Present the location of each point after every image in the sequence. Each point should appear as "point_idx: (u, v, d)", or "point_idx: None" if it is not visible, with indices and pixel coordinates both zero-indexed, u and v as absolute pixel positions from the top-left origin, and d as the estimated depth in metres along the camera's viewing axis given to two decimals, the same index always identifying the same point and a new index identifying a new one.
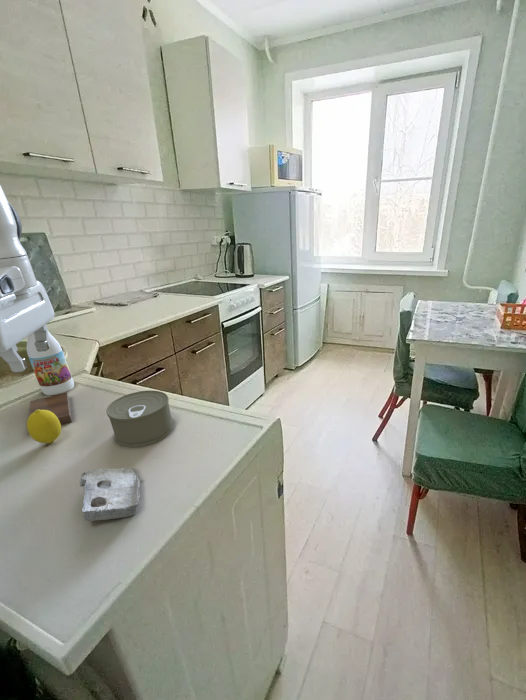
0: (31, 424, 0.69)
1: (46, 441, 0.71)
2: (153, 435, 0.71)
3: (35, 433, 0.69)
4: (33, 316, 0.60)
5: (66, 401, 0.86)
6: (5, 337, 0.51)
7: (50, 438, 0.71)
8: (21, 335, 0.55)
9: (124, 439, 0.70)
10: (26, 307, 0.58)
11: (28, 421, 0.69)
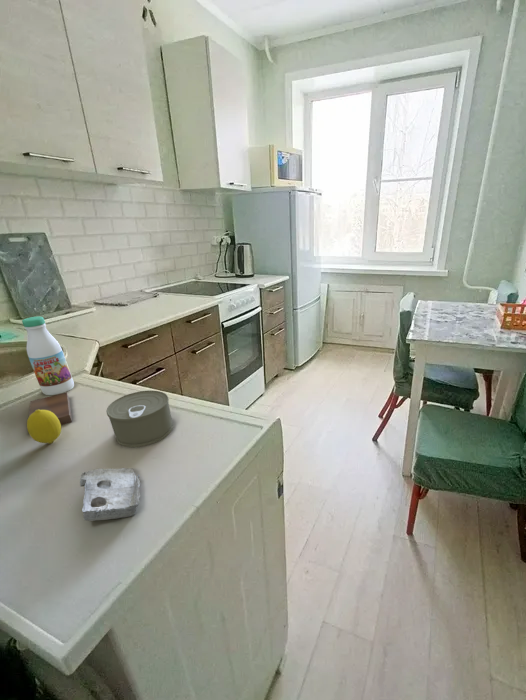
0: (31, 424, 0.69)
1: (46, 441, 0.71)
2: (153, 435, 0.71)
3: (35, 433, 0.69)
4: None
5: (66, 401, 0.86)
6: None
7: (50, 438, 0.71)
8: None
9: (124, 439, 0.70)
10: None
11: (28, 421, 0.69)
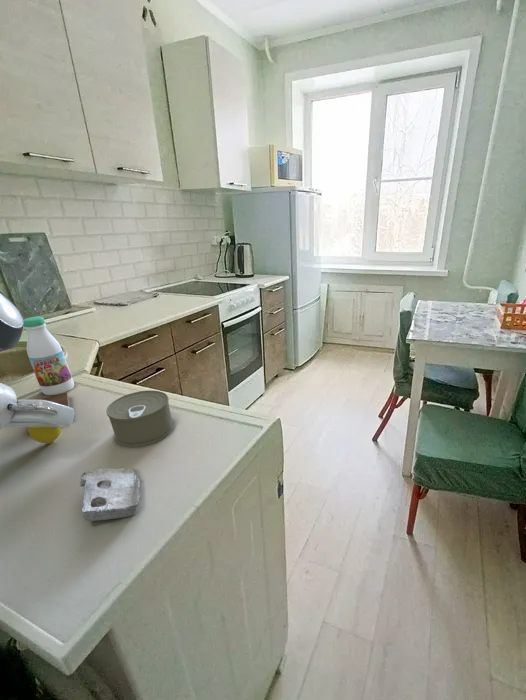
0: None
1: (46, 441, 0.71)
2: (153, 435, 0.71)
3: (35, 433, 0.69)
4: (22, 425, 0.65)
5: (66, 401, 0.86)
6: None
7: (50, 438, 0.71)
8: None
9: (124, 439, 0.70)
10: (12, 421, 0.63)
11: None
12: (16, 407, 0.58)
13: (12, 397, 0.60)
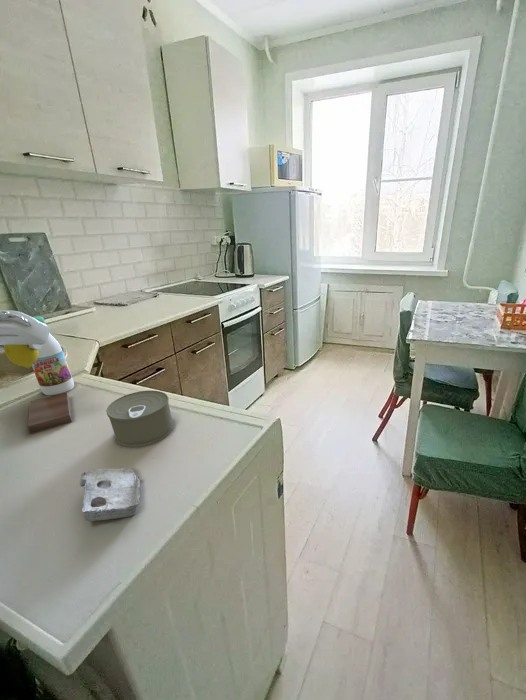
0: None
1: (23, 363, 0.73)
2: (153, 435, 0.71)
3: (12, 353, 0.71)
4: None
5: (66, 401, 0.86)
6: None
7: (27, 360, 0.72)
8: None
9: (124, 439, 0.70)
10: None
11: None
12: None
13: None
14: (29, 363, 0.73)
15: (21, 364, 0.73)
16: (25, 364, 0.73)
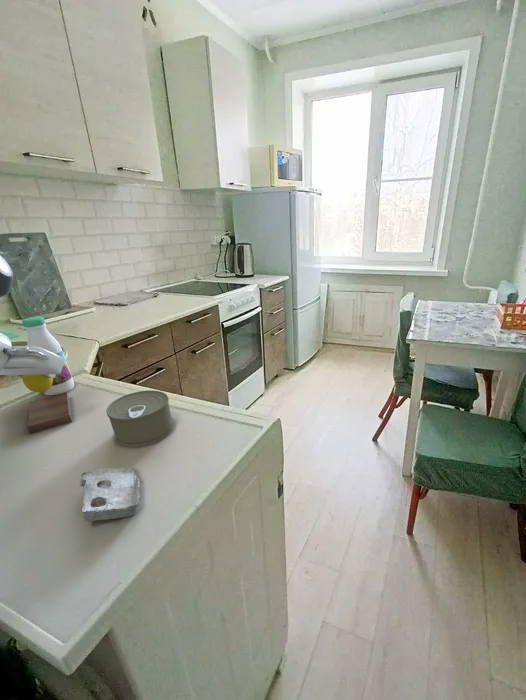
0: None
1: (39, 390, 0.79)
2: (153, 435, 0.71)
3: (29, 381, 0.77)
4: (16, 371, 0.73)
5: (66, 401, 0.86)
6: None
7: (42, 387, 0.79)
8: None
9: (124, 439, 0.70)
10: (8, 367, 0.71)
11: None
12: (11, 350, 0.67)
13: (7, 343, 0.68)
14: (44, 389, 0.80)
15: (37, 391, 0.79)
16: (41, 391, 0.80)
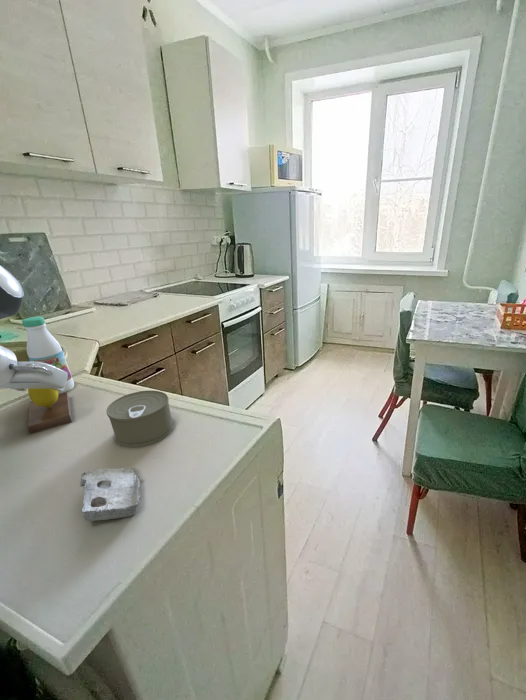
0: (32, 389, 0.79)
1: (45, 405, 0.81)
2: (153, 435, 0.71)
3: (35, 397, 0.79)
4: (21, 385, 0.74)
5: (66, 401, 0.86)
6: None
7: (48, 402, 0.81)
8: None
9: (124, 439, 0.70)
10: (13, 381, 0.73)
11: None
12: (17, 366, 0.68)
13: (13, 359, 0.69)
14: (50, 404, 0.82)
15: (43, 405, 0.81)
16: (47, 405, 0.81)
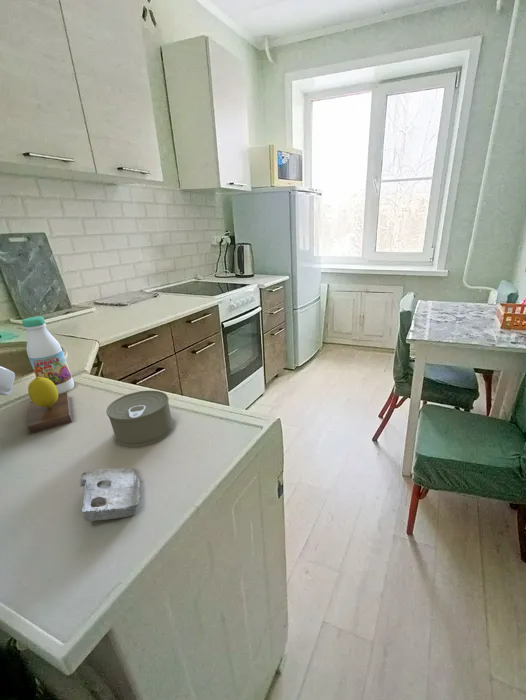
0: (32, 389, 0.79)
1: (45, 405, 0.81)
2: (153, 435, 0.71)
3: (35, 397, 0.79)
4: None
5: (66, 401, 0.86)
6: None
7: (48, 402, 0.81)
8: None
9: (124, 439, 0.70)
10: None
11: (29, 386, 0.79)
12: None
13: None
14: (50, 404, 0.82)
15: (43, 405, 0.81)
16: (47, 405, 0.81)
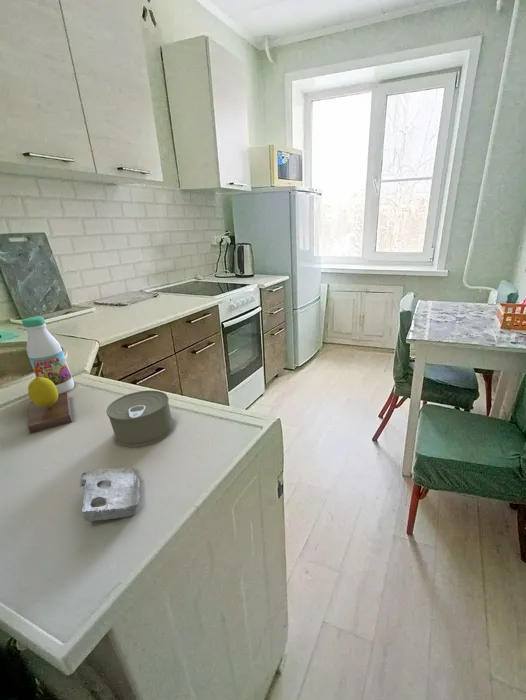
0: (32, 389, 0.79)
1: (45, 405, 0.81)
2: (153, 435, 0.71)
3: (35, 397, 0.79)
4: None
5: (66, 401, 0.86)
6: None
7: (48, 402, 0.81)
8: None
9: (124, 439, 0.70)
10: None
11: (29, 386, 0.79)
12: None
13: None
14: (50, 404, 0.82)
15: (43, 405, 0.81)
16: (47, 405, 0.81)
